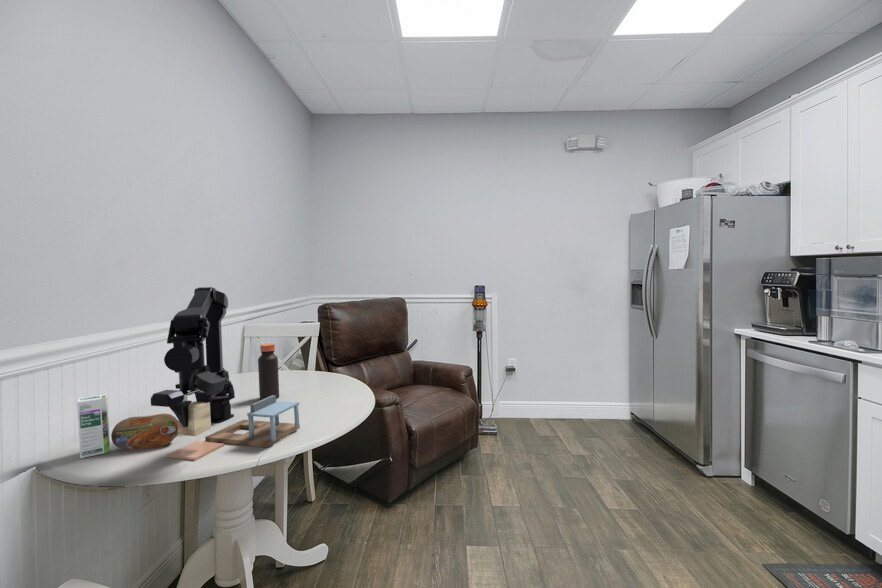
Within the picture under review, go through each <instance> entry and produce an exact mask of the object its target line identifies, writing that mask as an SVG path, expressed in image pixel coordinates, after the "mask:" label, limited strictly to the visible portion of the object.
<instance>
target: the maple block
mask: <svg viewBox="0 0 882 588" xmlns="http://www.w3.org/2000/svg"><path fill="white" fill-rule="evenodd" d="M177 420H178V419H177ZM178 425H179V432H178V435H179V436H189V437H197V436H198V435H201V434H203V433H206V432H208V431H210V430H212V422H211V416H210V402H197V401H196V400H195V401H192V402H191V403H190V405H189V406H188V427H183V426H182V424H181V423H180V421H179V420H178Z"/></svg>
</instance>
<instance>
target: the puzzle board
mask: <svg viewBox="0 0 882 588" xmlns="http://www.w3.org/2000/svg"><path fill="white" fill-rule="evenodd" d="M253 422H254V438H253V439H249V431H247V432H246V433H235V431H236V432H237V430H238V431H239V429H240V430H241V428H243V429H242V430H249V421H248V419H241V420H238V421H237V422H235V423H232V424H230V425H229V426H226V427H224V428H221V429H219V430H218V431H215V432H213V433H211V434H209V435H206V436H205V440H204V441H205V442H208V441H210V442H213V443H218V442H222V443H223V444H228V443H231V444H230V445H238V444H240V446H250V447H261V448H269V447H271V446H273V445H275V444H276V443H278V442H279V441H281V440H283V439H284V438H286V437H287V435H288V436H289V435H291V434H293V433H294V432H296V431H298V430H299V429H301V425H300V424H301V423H299V426H298V427H295V423H292V422H291V423H289V422H280V421H279V425H275V432H276V440H275V441H271V430H270V421H268V420H267V421H266V420H254V419H253ZM298 428H299V429H298ZM297 429H298V430H297ZM295 430H296V431H295ZM233 432H234V433H233ZM292 432H293V433H292ZM290 433H291V434H290ZM285 436H286V437H285ZM282 438H283V439H282ZM280 439H281V440H280Z"/></svg>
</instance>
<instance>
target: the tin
mask: <svg viewBox="0 0 882 588" xmlns="http://www.w3.org/2000/svg"><path fill="white" fill-rule="evenodd" d="M178 435H179V425H178V418H177V417H176V416H174V415H173V414H170V413H155V414H147V415H137V416H132V417H128V418H125V419H123V420H120V421H119V422H118V423H117V424H115V426H114V427H113V429H112V431H111V436H110V437H111V438H110V439H111V442H112V444H113V445H114V446H115V447H116V448H118V449H119V450H121V451H125V452H126V451H129V452H130V451H136V450H144V449H151V448H159V447H165V446H166V445H169V444H170V443H172V441H174V439H175V438H177V436H178Z"/></svg>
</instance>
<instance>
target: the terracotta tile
mask: <svg viewBox="0 0 882 588" xmlns="http://www.w3.org/2000/svg"><path fill="white" fill-rule="evenodd" d="M224 446H225V443H218V442H208V441H201V440H194V442H191V443H189V444H186V445H184V446H182V447H180V448H178V449H176V450H174V451H172V452H169V453H167V454H166V455H165V457H166V458H168V457H170V459H177V458H178V460H185V459H187V460H186V461H194V460H195V461H197V460H199V459H201V458H203V457H205V456H207V455H209V454H211V453H213V452H214V450H215V451H217V450H219V449H221V448H222V447H224ZM220 447H221V448H220ZM218 448H219V449H218ZM216 449H217V450H216ZM212 451H213V452H212ZM210 452H211V453H210Z"/></svg>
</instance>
